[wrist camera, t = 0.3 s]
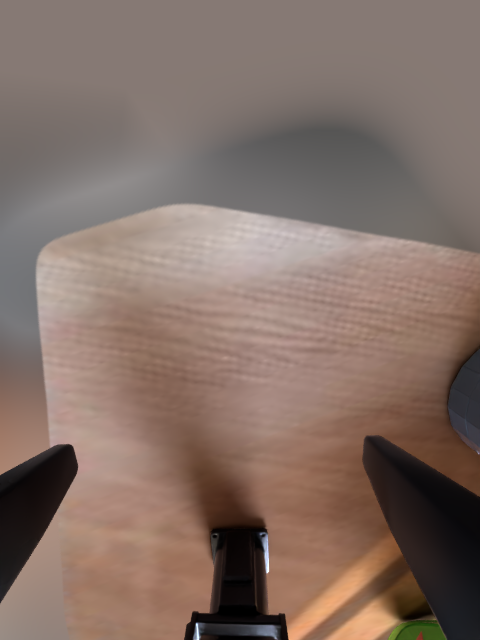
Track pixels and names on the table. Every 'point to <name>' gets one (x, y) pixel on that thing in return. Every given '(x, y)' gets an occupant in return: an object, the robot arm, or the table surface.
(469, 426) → the bowl
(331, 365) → the table surface
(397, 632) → the decorative plant
